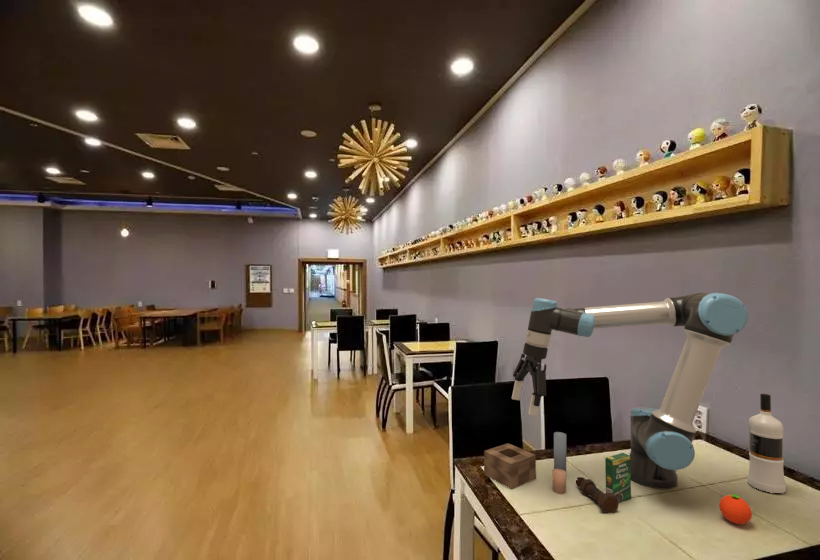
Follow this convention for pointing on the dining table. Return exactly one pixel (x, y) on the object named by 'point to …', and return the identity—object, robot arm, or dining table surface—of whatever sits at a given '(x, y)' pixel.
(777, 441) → the vodka
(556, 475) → the short dowel
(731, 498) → the clementine
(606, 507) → the bolt
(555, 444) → the long dowel
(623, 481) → the coffee box
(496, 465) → the hole block
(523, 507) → the dining table surface
